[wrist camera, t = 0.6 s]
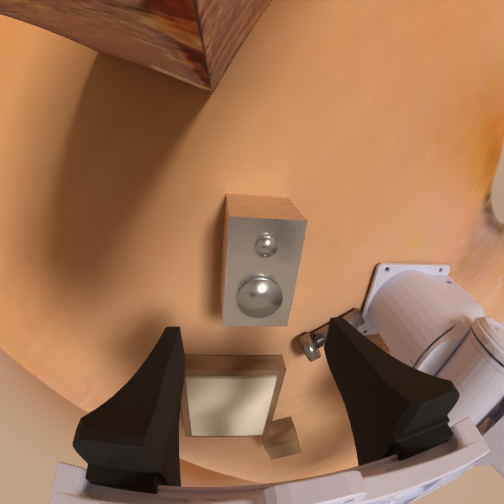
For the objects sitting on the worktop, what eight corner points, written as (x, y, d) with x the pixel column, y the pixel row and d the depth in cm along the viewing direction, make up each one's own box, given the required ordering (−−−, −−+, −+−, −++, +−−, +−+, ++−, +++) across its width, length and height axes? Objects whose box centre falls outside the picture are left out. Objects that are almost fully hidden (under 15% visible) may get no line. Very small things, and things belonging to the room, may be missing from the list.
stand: (281, 354, 28) (286, 371, 26) (265, 422, 33) (267, 437, 31) (178, 354, 26) (176, 371, 24) (186, 423, 32) (185, 438, 30)
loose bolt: (354, 301, 26) (363, 317, 23) (362, 319, 27) (372, 336, 24) (296, 331, 27) (302, 350, 24) (308, 348, 28) (313, 366, 25)
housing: (287, 197, 21) (309, 224, 16) (274, 287, 24) (288, 331, 20) (226, 193, 21) (229, 219, 16) (220, 286, 24) (222, 331, 19)
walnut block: (290, 415, 33) (297, 441, 30) (295, 428, 35) (301, 452, 32) (260, 423, 34) (264, 448, 30) (267, 435, 35) (271, 459, 32)
